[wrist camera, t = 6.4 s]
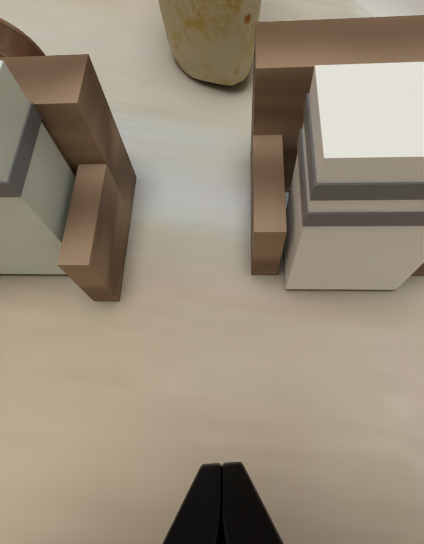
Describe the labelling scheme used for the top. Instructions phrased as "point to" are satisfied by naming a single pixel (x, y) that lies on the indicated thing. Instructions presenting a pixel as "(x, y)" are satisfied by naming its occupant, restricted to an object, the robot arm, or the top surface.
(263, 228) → the housing
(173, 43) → the food model
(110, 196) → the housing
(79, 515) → the top surface
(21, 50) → the tin
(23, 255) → the pale green box
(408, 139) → the white rectangular block
